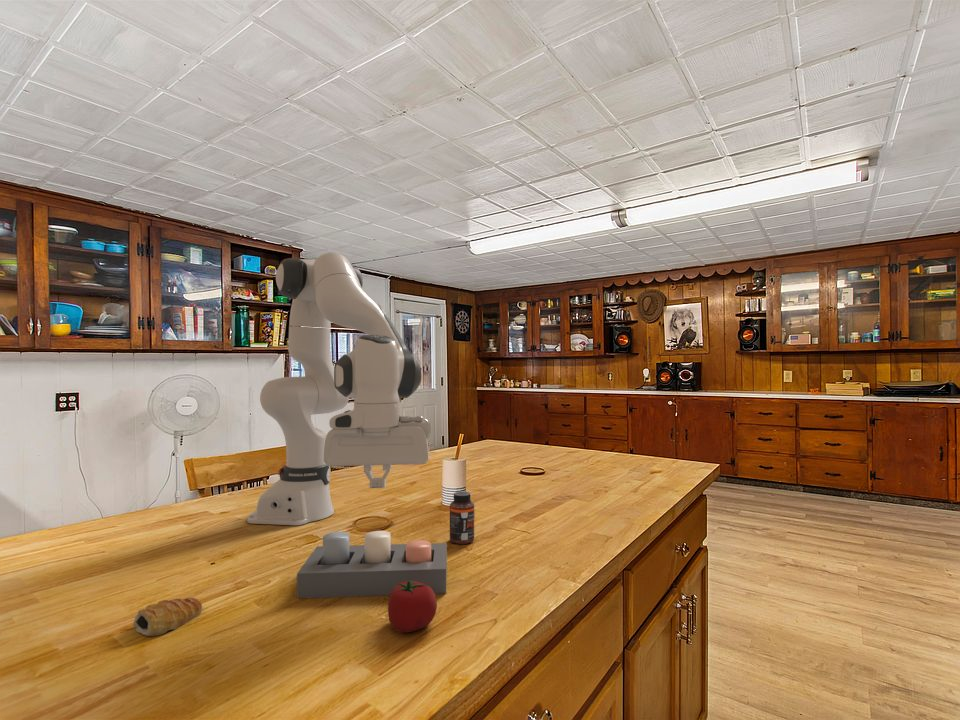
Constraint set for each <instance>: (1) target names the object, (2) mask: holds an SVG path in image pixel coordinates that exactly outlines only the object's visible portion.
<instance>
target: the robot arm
mask: <svg viewBox="0 0 960 720" xmlns="http://www.w3.org/2000/svg"><path fill="white" fill-rule="evenodd" d="M275 282H276V283H275V284H276V286H277V290H278V292H279V293H280V294H281V296H282V297H285V298H288V299H292V302H291V307H290V312H289V313H290V314H289V325H288V345H287V351H288V354H289V356H290V357H291V358H292V359H293V360H295V361H296V362H297V363H299V364H300V365H301V366H302V367H303V368H302V369H303V371H304V376H284V377H279V378H276V379H275V378H274V379H271V380H268V381H267V382H266V383H265V384H264V385H263V387H262V388H261V392H260V396H259V401H260V405H261V407H262V410H263V411H264V412H265V414H267V415H268V416H270V417H271V418H273V419H274V421H276V422H277V424H278V425H279V427H280V428H281V430H282V433H283V435H284V442H285V450H286V452H285V453H286V463H285V464H283V465H282V466H281V468H279V470H278V471H277V472H278V473H277V476H279V479H278V480H277V481H276V482H274V484H272V485H271V486H270V487H269V488H267V489H266V490H265V491H263V492H262V493H261V494H260V496H259V498H258V500H257V504H256V509H255V510H254V511H252V512H251V513H249V515H248V516H247V519H246V521H247V523H248V524H255V525H258V524H259V525H261V524H262V525H280V526H281V525H282V526H301V525H304V524H308V523H311V522H315V521H319V520H323V519H327V518H328V517H331V516H332V515H333V514H334V513H335V509H334V506H333V502H332V497H331V493H330V492H331V491H330V481H331V467H350V466H351V467H352V466H354V467H356V466H357V467H358V466H362V467H363V472H364V474H365V475H366V478H367V479H368V481H369V489H385V488H386V485H387V484H386V478H387V477H388V475H389V473H390V471H391V469H392V466H398V465H399V466H400V465H401V466H402V465H403V466H405V465H407V466H408V465H426V464H427V462H428V461H429V459H430V450H429V449H430V446H429V441H428V439H429V437H430V436H431V424H430V422H429V420H428V419H427V418H424V417H423V416H420V415H419V416H417V415H416V416H401V402H400V401H401V399H407V398H410V396H412V395H413V394H414V393H415V392H416V391H417V389H418V388H419V386H420V385H421V383H422V376H423V375H422V368H421V365H420V363H419V361H418V359H417V358H416V357H415V355H413V353H411V351H410V350H409V349H408V348H407V346H406V344H405V342H404V341H403V339H402V337H401V335H400V334H399V332H398V330H397V328H396V326H394V323H393V321H392V320H391V319H390V316H389V315H388V313H387V311H386V310H385V309H384V308H383V306H381V305H380V304H378V303H377V302H376V301H374V300H373V299H372V298H371V297H370V296H369V295H368V294H367V293H366V291H365V290H364V288H363V282H364V281H363V276H362V273H361V271H360V270H359V268H358V267H356V266H354V265H352V264H351V262H350V261H349V259H348V258H347V257H346V256H344V255H343V254H341V253H339V252H333V251H332V252H331V251H329V252H326V253H323V254H321V255H319V256H318V257H317V258H316V259H307V258H306V259H304V258H303V259H302V258H299V257H290V258H289V257H288V258H285V259H283V260H282V261H280V262H279V265H278V268H277V269H276V273H275ZM331 324H335V325H336V326H338V327H339V326H341V327H344V328H348V329H352V330H356V331H358V332H362V333H365V335H360V336H358V337H357V339H355V340H356V341H355V345H354V349H352V351H350V352H349V353H347V354H344V355H342V356H341V357H340V358H339V359H337V361H336V362H335V363H334V364H333V360H332V354H331V331H332V330H331V329H332V327H331V326H332V325H331ZM350 398H351V399H354V400H353V401H354V402H353V409H352V410H350V409H349V410H346V411H343V413H342V412H341V413H339V414H336V415H334V416H332V417H331V418H329V423H328V425H329V427H330V428H331V429H330V430H329V431H328V432H327V433H325V431H323V430H322V429H319V428H318V427H315V425H314V424H313V422H312V415H323V414H330V413H334V412H337V411H339V410H342V409H344V408H345V407H346V406H347V405H348V403H349V400H350ZM373 466H382V471H383V472H384V471H385V472H384V473H383V475H382V476H380V477H375V476H374V474H373V472H372V469H373Z"/></svg>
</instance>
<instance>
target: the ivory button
mask: <svg viewBox="0 0 960 720" xmlns="http://www.w3.org/2000/svg"><path fill="white" fill-rule="evenodd" d="M363 545H365V564H370V563H391V533H390V532H389V531H387V530H373V531H369V532H367V533H366V534H365V535H364V544H363Z"/></svg>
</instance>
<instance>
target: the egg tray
mask: <svg viewBox="0 0 960 720" xmlns="http://www.w3.org/2000/svg"><path fill="white" fill-rule="evenodd" d="M430 543H431V542H430ZM447 543H448V542H436V543H435V542H434V543H431V562H406V544H407V543H399V544H398V543H397V544H391V543H390V544H391V563H370V564H365V544H361V545H359V544H357V545H349V556H350V562H349V564H335V565H323V545H321V546H319V545H318V546H316V547H315V548H314V549H313V551H312V552H311V554H310V556H308V558H307V559H306V560H305V561H304V563H303V565H302V566H301V567H300V569H299V570H298V571H297V573H296V598H297V599H314V598H315V599H317V598H318V599H319V598H349V597H351V598H352V597H373V596H374V597H379V596H390V594H391V592H392V590H393V588H395V587H396V586H397V585H398V584H399V583H402V582H407V581H416V582H419V583H423V584H425V585H427V586H429V587H431V589H432V590H433V592H434V593H435V595H438V594H440V595H441V594H447V578H448V577H447V576H448V575H447V573H448V572H447V571H448V549H447V548H448V547H447V546H448V544H447Z"/></svg>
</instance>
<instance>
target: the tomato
mask: <svg viewBox="0 0 960 720" xmlns="http://www.w3.org/2000/svg"><path fill="white" fill-rule="evenodd" d="M388 596H389V597H388V604H387V616H388V620H389V624H391V626H392V627H393V629H395V631H398V632H400V633H402V634H404V633H413V632H415V631H419V630H421V629H423V628H425V627H428V626H429V625H430V624H431V622H432V621H433V619H434V618H435V616H436V615H437V614H436V613H437V609H438V608H437V607H438V603H437V597H436V594H435V593H434V592H433V590H432V589H431V587H429V586H427V585H425V584H423V583H419V582H416V581H407V582H402V583H399V584H398V585H397V586H396V587H395V588H393V590H392V592H391V594H390V595H388Z"/></svg>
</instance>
